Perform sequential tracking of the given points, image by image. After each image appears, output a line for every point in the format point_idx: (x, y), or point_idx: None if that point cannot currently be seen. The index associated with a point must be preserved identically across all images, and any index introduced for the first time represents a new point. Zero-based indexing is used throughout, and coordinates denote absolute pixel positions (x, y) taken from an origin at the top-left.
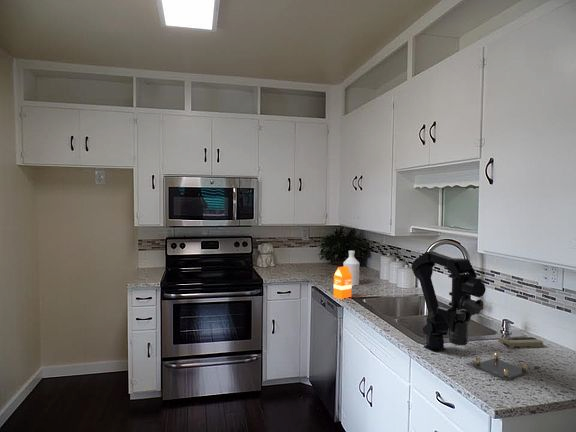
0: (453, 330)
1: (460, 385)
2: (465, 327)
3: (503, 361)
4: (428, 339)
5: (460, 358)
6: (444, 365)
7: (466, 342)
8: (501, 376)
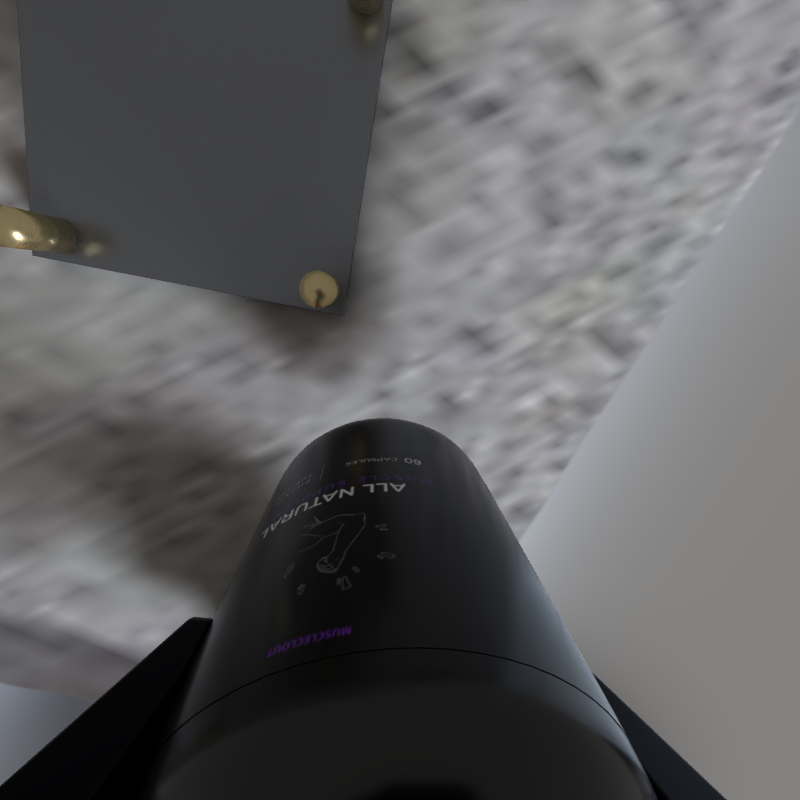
0: None
1: (724, 224)
2: (470, 600)
3: (35, 163)
4: None
5: (291, 447)
6: (497, 451)
7: (388, 424)
8: (386, 30)
